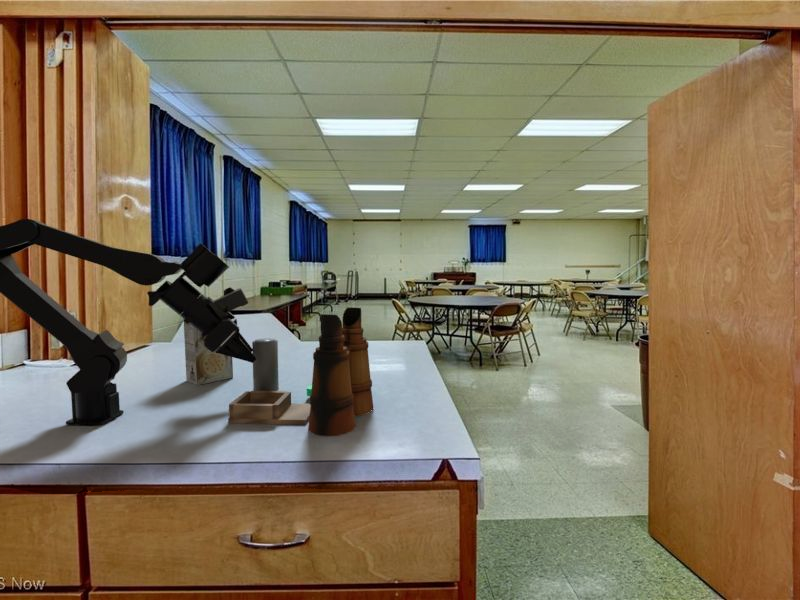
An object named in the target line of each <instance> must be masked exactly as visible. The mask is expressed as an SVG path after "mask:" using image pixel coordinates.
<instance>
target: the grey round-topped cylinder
mask: <svg viewBox="0 0 800 600" xmlns="http://www.w3.org/2000/svg"><path fill="white" fill-rule="evenodd" d="M251 343H252V347H251V348H252V350H253V351H252V354H253V355H254V356H255V357H256V360H255V361H254V362H253V363H252V380H253V381H252V385H253V387H252V388H253V389H252V391H280V387H279V346H278V345H279V342H278V340H276V339H275V338H259V339H258V338H257V339H254V341H252V342H251Z"/></svg>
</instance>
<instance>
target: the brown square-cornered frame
mask: <svg viewBox="0 0 800 600" xmlns="http://www.w3.org/2000/svg"><path fill="white" fill-rule="evenodd" d="M310 407H311V405H310V403H292V391H287V390H279V391H253V390H251V391H249V390H246V391H245V392H243V393H242V394H241V395H239V396H238V397H237V398H235V399H234V400H233V401H231V402H230V403H229V404H228V417H229V418H227V419H228V420H227V423H228V424H253V425H255V424H260V425H261V424H263V425H268V424H269V425H270V424H271V425H307V423H309V416H310Z"/></svg>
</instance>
